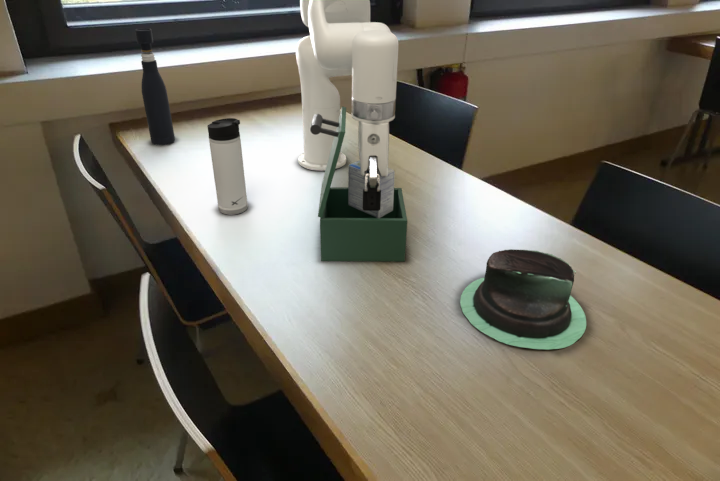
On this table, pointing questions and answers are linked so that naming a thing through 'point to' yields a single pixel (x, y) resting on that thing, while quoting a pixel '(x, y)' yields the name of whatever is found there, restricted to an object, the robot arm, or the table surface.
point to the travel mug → (228, 165)
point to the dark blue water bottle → (154, 93)
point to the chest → (362, 230)
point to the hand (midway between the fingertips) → (370, 198)
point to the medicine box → (358, 183)
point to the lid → (334, 152)
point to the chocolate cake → (525, 301)
